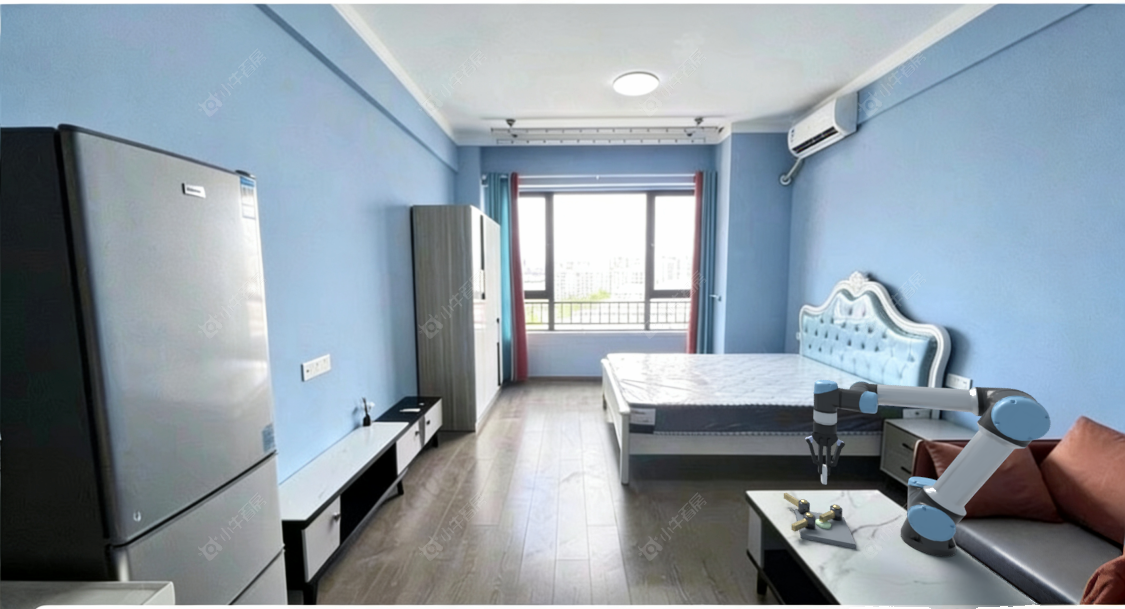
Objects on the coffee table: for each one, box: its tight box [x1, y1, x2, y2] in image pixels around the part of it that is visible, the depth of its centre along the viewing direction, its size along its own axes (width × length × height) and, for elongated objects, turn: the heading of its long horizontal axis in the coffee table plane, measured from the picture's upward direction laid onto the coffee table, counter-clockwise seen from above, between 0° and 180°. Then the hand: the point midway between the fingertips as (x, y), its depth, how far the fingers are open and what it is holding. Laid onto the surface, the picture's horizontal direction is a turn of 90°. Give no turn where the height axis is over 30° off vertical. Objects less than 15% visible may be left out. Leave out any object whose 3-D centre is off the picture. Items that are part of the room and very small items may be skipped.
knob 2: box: [791, 512, 816, 533], centre depth 157 cm, size 12×4×5 cm, turn 117°
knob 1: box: [783, 492, 811, 514], centre depth 172 cm, size 12×4×5 cm, turn 17°
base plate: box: [794, 508, 857, 549], centre depth 160 cm, size 17×18×3 cm
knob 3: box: [819, 503, 843, 523], centre depth 162 cm, size 12×4×5 cm, turn 116°
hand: (823, 482), depth 159 cm, fingers closed
